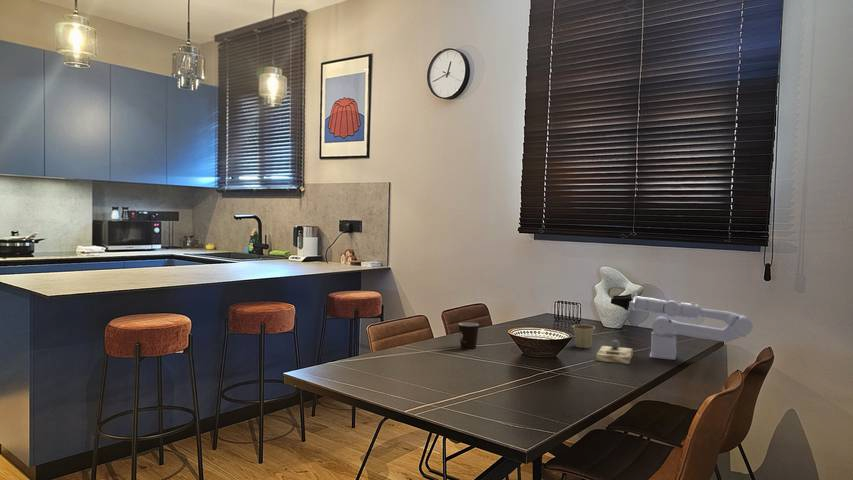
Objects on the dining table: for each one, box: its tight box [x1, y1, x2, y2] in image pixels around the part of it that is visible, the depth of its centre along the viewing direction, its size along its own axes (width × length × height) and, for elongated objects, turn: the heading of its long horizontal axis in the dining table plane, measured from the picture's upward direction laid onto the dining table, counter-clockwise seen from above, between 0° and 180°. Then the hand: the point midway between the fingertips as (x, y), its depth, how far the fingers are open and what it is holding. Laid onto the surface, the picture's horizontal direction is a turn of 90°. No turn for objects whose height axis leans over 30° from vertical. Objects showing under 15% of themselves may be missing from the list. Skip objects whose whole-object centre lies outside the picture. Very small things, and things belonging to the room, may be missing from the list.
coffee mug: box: [457, 322, 480, 350], centre depth 248 cm, size 12×9×10 cm
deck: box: [595, 345, 634, 364], centre depth 232 cm, size 12×17×2 cm
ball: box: [610, 339, 621, 349], centre depth 237 cm, size 4×4×4 cm
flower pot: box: [571, 324, 596, 349], centre depth 251 cm, size 9×9×9 cm
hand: (612, 299), depth 241 cm, fingers open, 7 cm apart
